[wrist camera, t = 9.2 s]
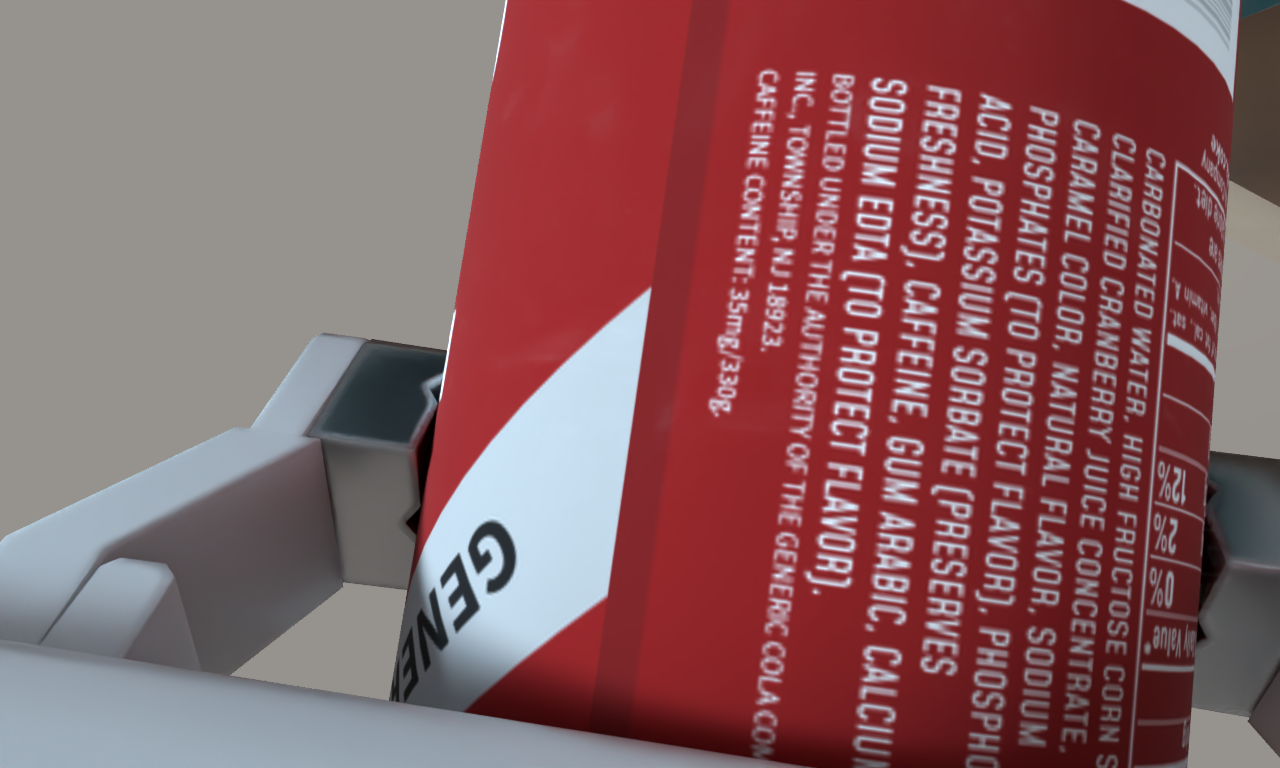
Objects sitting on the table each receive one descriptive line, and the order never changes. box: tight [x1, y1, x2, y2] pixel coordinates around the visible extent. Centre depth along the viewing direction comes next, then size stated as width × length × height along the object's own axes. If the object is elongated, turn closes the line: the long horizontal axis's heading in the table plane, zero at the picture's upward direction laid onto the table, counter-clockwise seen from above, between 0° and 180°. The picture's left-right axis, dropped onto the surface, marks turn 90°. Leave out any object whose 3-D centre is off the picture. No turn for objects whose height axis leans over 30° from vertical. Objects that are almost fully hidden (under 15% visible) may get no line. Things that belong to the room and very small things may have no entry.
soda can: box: [389, 0, 1242, 768], centre depth 11 cm, size 7×7×12 cm
